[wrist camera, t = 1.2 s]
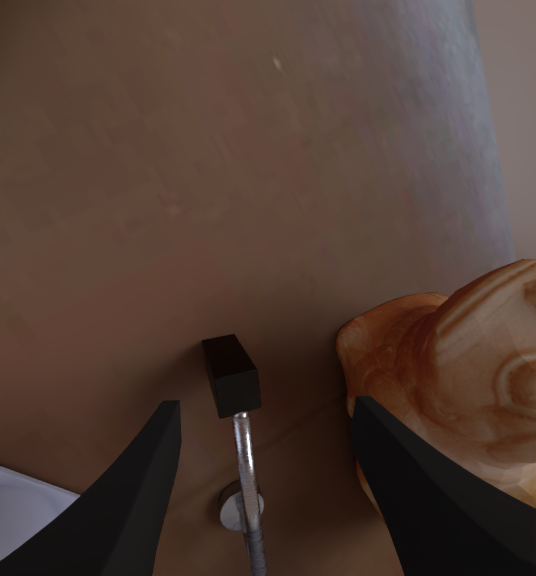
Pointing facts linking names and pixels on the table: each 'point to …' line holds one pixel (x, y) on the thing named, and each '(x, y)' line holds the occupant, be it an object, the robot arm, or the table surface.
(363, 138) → the table surface
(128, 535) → the robot arm
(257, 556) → the ladle
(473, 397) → the frog figurine
